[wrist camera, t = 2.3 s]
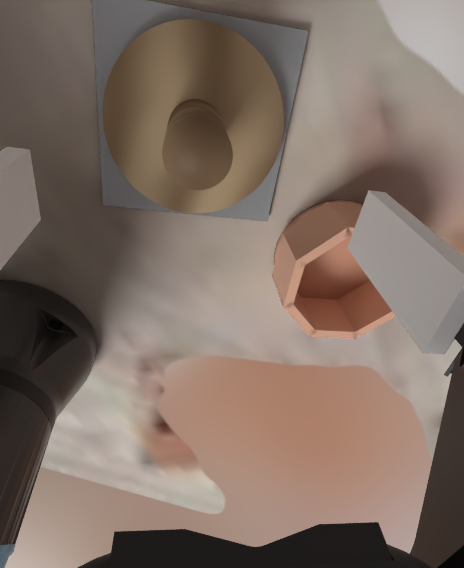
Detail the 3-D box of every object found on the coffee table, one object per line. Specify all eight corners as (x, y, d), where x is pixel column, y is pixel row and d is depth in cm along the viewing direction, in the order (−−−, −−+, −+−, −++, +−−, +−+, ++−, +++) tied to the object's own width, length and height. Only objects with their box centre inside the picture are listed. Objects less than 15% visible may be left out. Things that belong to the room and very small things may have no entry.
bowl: (263, 295, 38) (275, 335, 33) (288, 193, 31) (306, 223, 27) (362, 301, 39) (387, 340, 34) (403, 206, 33) (440, 236, 28)
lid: (108, 200, 30) (86, 247, 23) (100, 1, 22) (64, -13, 16) (262, 215, 32) (282, 262, 25) (299, 38, 25) (340, 39, 18)
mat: (104, 202, 30) (102, 205, 30) (93, -10, 23) (91, -11, 22) (266, 218, 33) (267, 221, 32) (306, 30, 25) (308, 30, 24)
